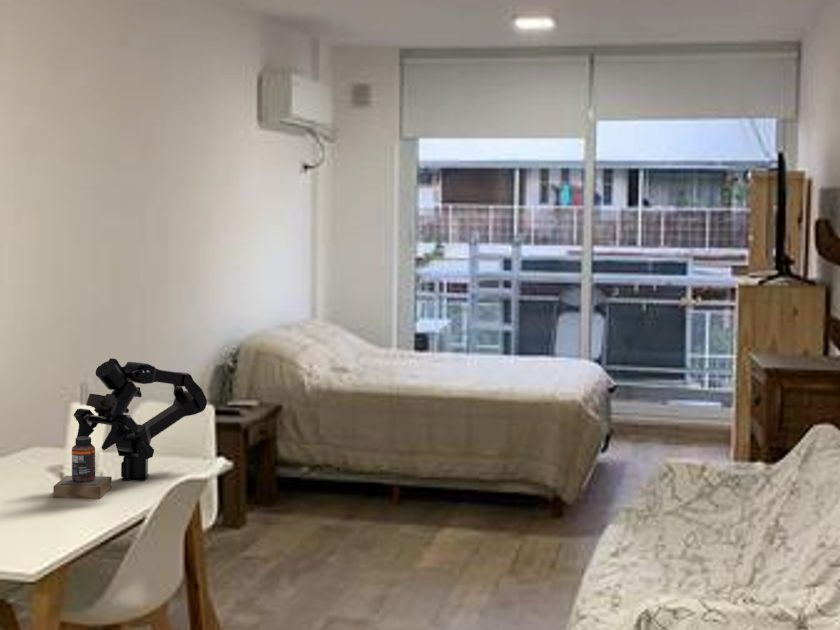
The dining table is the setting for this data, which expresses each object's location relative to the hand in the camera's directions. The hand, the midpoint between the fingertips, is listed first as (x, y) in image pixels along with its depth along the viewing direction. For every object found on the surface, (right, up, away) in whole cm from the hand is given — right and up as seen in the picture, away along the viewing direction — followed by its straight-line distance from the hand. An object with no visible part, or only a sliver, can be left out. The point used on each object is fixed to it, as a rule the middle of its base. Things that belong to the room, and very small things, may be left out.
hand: (89, 447), depth 296 cm
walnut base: (-1, -12, -1) cm, 12 cm away
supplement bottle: (-1, -9, -1) cm, 9 cm away
